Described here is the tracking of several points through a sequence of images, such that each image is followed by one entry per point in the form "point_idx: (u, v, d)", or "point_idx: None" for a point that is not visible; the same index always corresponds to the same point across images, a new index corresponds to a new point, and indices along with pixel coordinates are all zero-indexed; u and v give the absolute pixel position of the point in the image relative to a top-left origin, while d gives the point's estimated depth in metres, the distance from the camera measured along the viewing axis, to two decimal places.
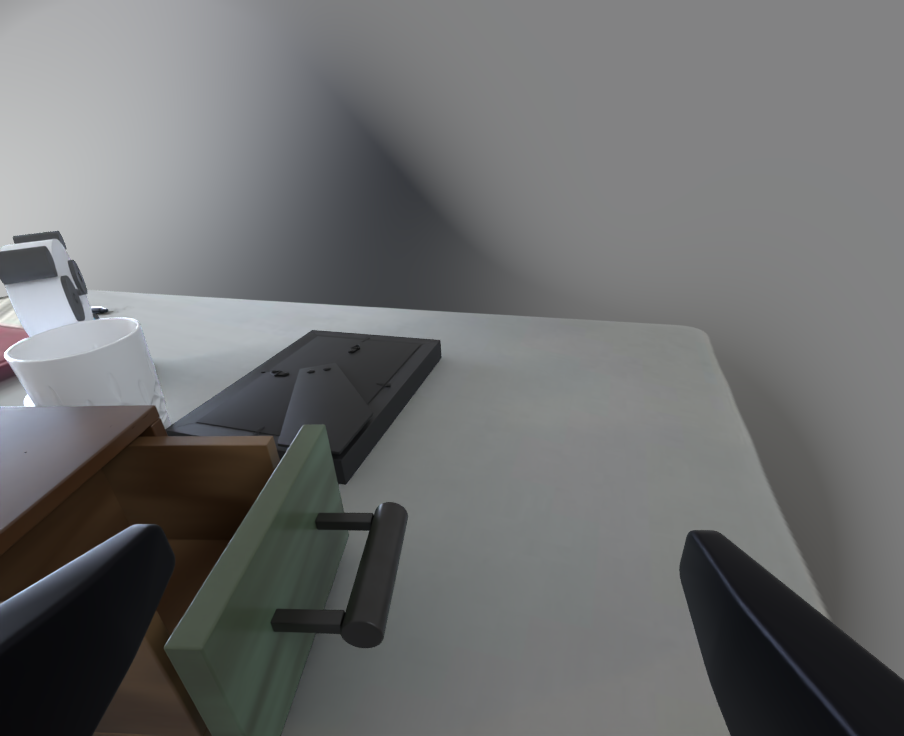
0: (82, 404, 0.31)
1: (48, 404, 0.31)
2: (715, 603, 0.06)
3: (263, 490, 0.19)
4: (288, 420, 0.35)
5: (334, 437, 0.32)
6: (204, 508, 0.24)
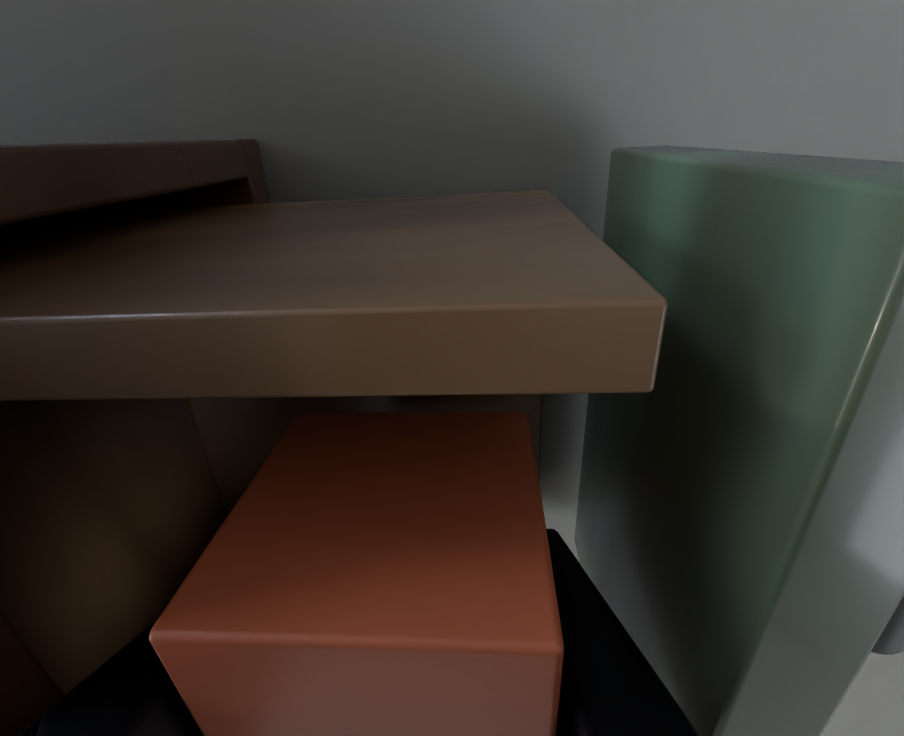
0: None
1: None
2: None
3: (750, 674, 0.05)
4: None
5: None
6: None
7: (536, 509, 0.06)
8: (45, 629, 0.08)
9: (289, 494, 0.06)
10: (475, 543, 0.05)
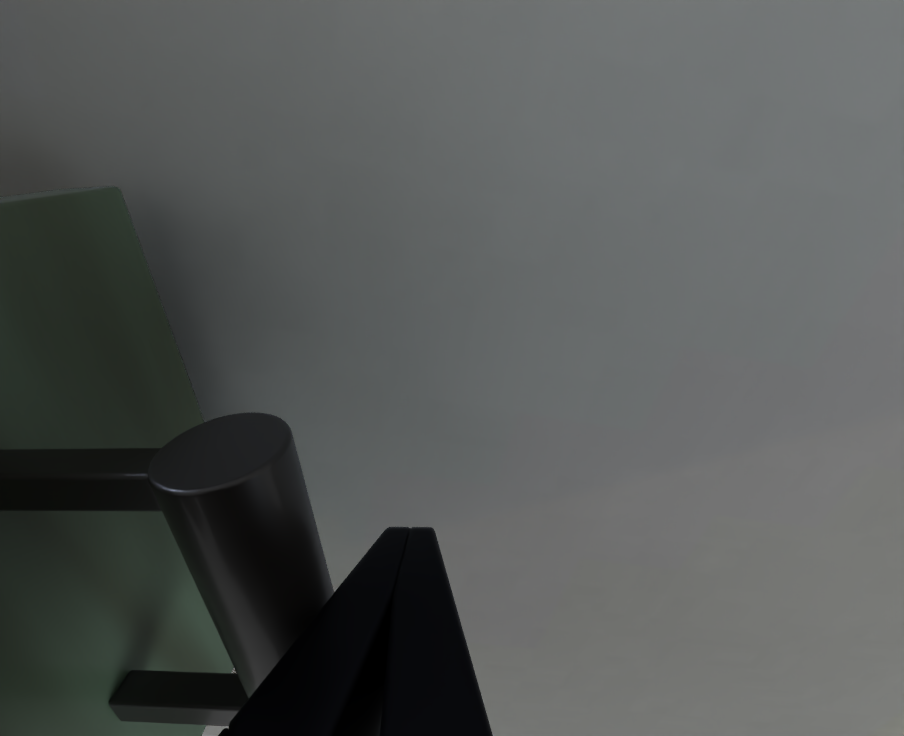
0: None
1: None
2: None
3: None
4: None
5: None
6: None
7: None
8: None
9: None
10: None
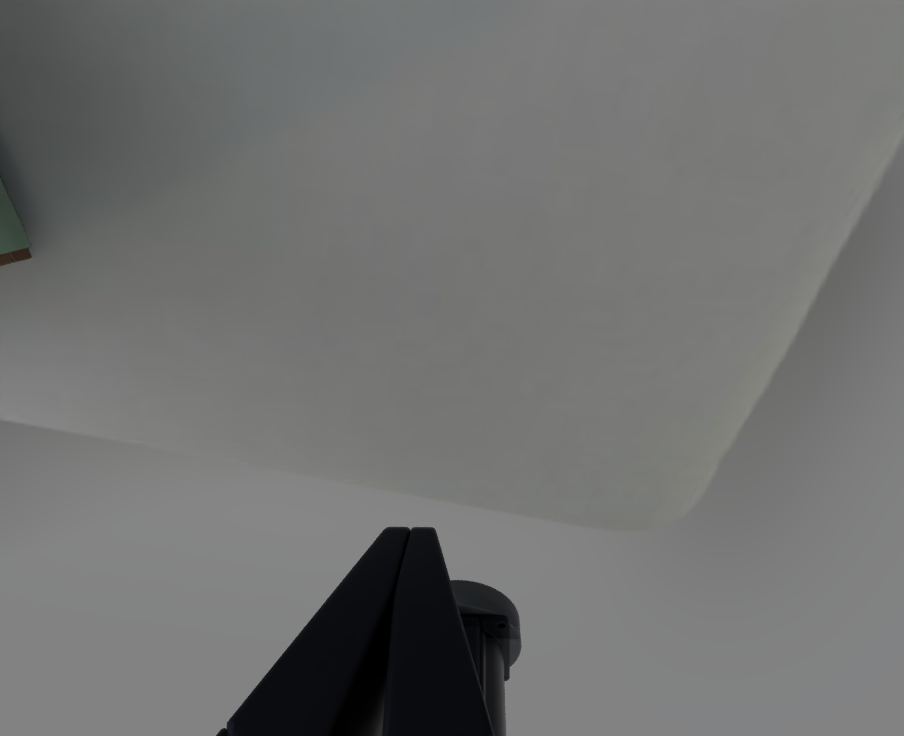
0: None
1: None
2: None
3: None
4: None
5: None
6: None
7: None
8: None
9: None
10: None
